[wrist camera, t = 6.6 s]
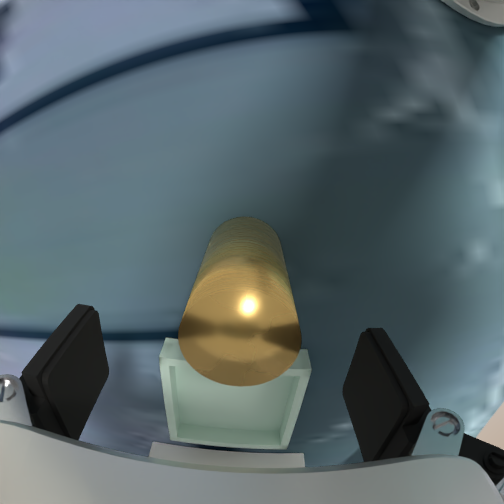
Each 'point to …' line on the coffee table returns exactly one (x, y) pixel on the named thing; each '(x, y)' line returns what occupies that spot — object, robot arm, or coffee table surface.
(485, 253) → the coffee table surface
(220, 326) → the roller
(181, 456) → the white box grey panel
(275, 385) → the tray
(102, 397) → the coffee table surface
